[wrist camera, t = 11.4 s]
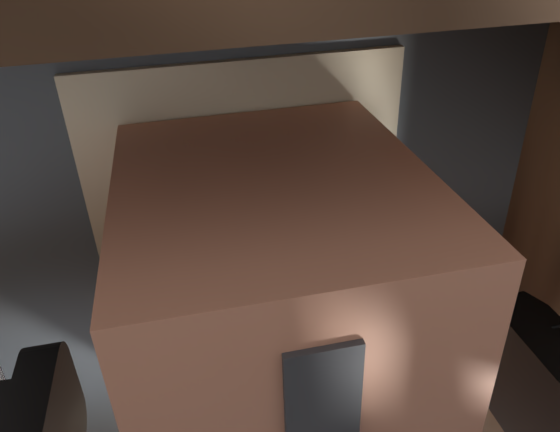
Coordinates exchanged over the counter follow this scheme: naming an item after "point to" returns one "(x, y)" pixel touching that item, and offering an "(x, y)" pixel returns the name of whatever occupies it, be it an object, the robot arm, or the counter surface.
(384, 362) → the terracotta block
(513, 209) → the arena
